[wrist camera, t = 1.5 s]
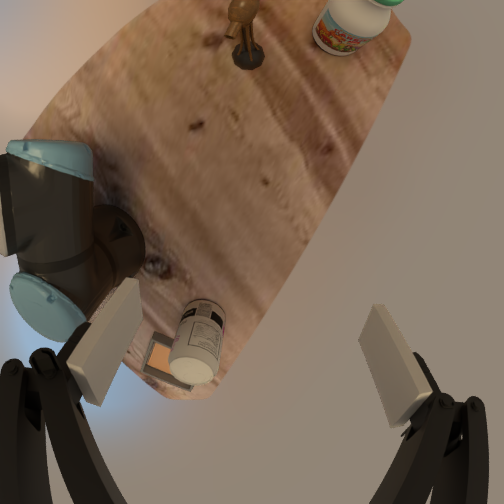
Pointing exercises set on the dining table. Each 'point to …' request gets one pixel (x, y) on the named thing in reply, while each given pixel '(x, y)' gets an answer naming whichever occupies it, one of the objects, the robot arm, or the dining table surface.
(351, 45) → the milk bottle
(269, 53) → the dining table surface
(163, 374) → the tray
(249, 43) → the wooden tabletop sculpture
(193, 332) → the supplement can
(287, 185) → the dining table surface
